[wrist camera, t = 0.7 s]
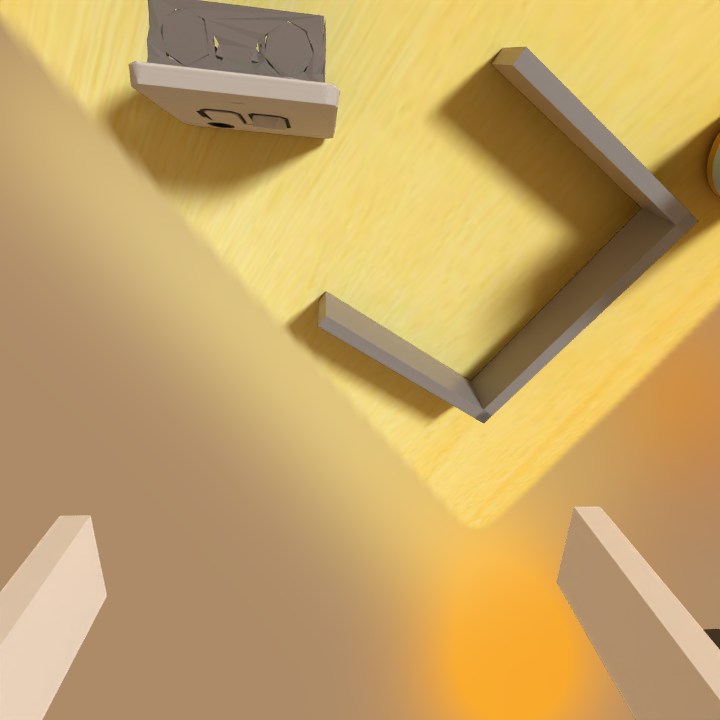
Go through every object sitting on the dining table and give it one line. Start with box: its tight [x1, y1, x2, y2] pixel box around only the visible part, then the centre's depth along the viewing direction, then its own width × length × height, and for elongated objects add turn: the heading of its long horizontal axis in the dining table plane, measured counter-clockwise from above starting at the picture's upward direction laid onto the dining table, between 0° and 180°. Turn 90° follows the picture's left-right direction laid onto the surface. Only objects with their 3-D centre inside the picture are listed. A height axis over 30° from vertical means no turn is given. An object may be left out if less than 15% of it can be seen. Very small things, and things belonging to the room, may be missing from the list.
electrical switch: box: [129, 0, 340, 139], centre depth 25 cm, size 9×5×9 cm, turn 84°
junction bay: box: [318, 47, 698, 423], centre depth 34 cm, size 20×16×4 cm
